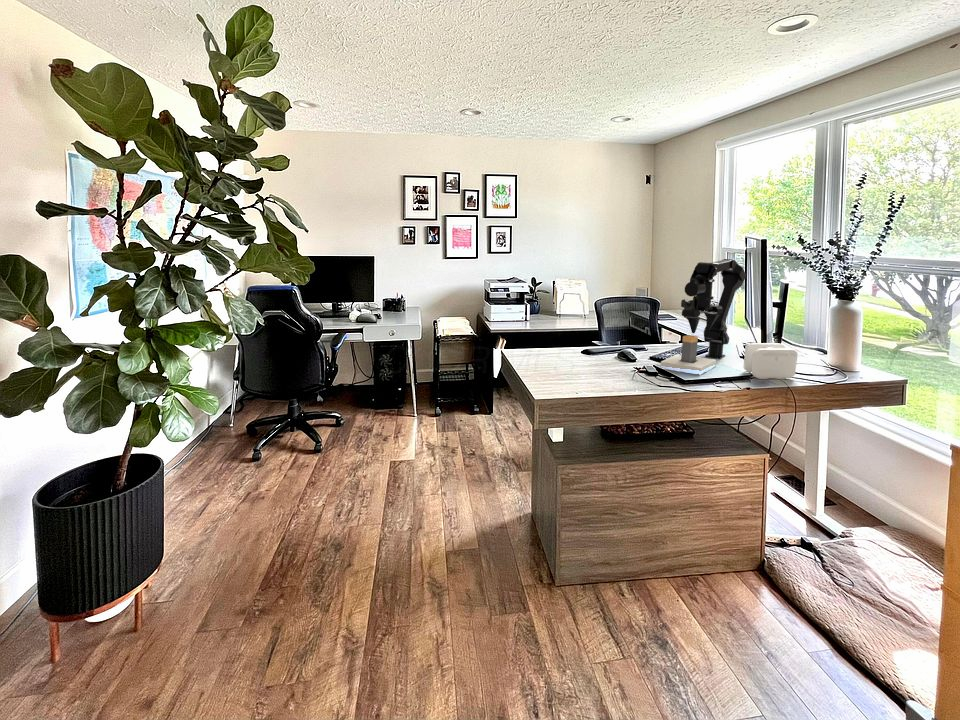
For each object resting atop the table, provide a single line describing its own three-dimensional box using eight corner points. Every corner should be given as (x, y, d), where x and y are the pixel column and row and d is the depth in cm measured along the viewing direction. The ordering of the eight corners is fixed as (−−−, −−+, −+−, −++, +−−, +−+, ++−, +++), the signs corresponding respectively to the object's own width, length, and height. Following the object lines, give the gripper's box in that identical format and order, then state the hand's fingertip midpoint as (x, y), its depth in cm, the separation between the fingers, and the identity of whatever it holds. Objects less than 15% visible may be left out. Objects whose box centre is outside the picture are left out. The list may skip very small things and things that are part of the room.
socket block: (676, 360, 236) (677, 354, 236) (715, 366, 226) (715, 359, 225) (660, 368, 225) (660, 361, 224) (700, 375, 214) (701, 368, 214)
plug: (687, 366, 228) (689, 334, 225) (695, 368, 225) (697, 336, 222) (680, 367, 226) (682, 336, 223) (688, 369, 223) (691, 337, 219)
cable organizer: (782, 372, 217) (786, 343, 214) (795, 380, 207) (799, 349, 204) (742, 372, 218) (745, 343, 215) (752, 379, 208) (756, 349, 205)
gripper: (701, 290, 238) (698, 326, 242) (672, 293, 228) (669, 331, 232) (725, 292, 228) (721, 330, 232) (695, 296, 219) (692, 335, 223)
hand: (700, 331), depth 230 cm, fingers open, 9 cm apart
